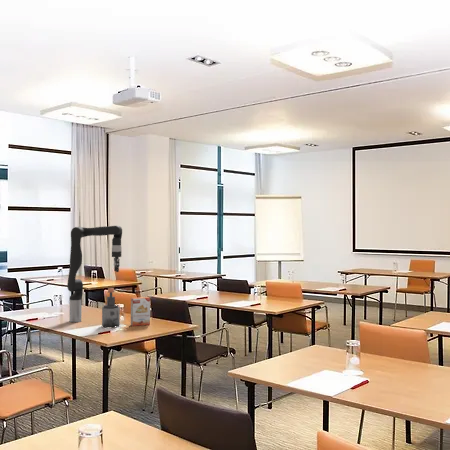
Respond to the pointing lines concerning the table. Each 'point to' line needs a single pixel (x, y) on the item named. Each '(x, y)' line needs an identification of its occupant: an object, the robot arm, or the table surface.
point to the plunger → (110, 291)
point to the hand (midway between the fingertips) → (116, 271)
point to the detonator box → (110, 313)
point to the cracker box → (140, 311)
